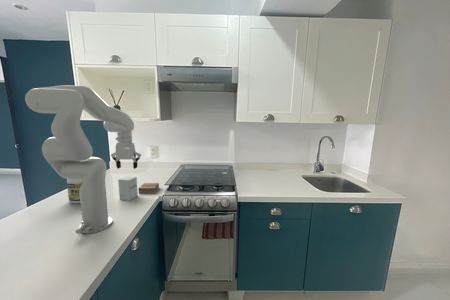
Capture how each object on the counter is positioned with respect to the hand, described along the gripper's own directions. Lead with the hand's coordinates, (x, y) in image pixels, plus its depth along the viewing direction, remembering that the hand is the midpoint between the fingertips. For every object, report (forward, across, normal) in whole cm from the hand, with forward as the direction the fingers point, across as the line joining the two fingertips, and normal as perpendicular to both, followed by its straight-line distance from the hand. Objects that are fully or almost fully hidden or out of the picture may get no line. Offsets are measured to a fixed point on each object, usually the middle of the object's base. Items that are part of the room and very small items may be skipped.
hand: (127, 168), depth 114 cm
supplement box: (+19, 0, -1) cm, 19 cm away
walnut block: (+19, +8, +11) cm, 24 cm away
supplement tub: (+19, -26, -4) cm, 32 cm away
